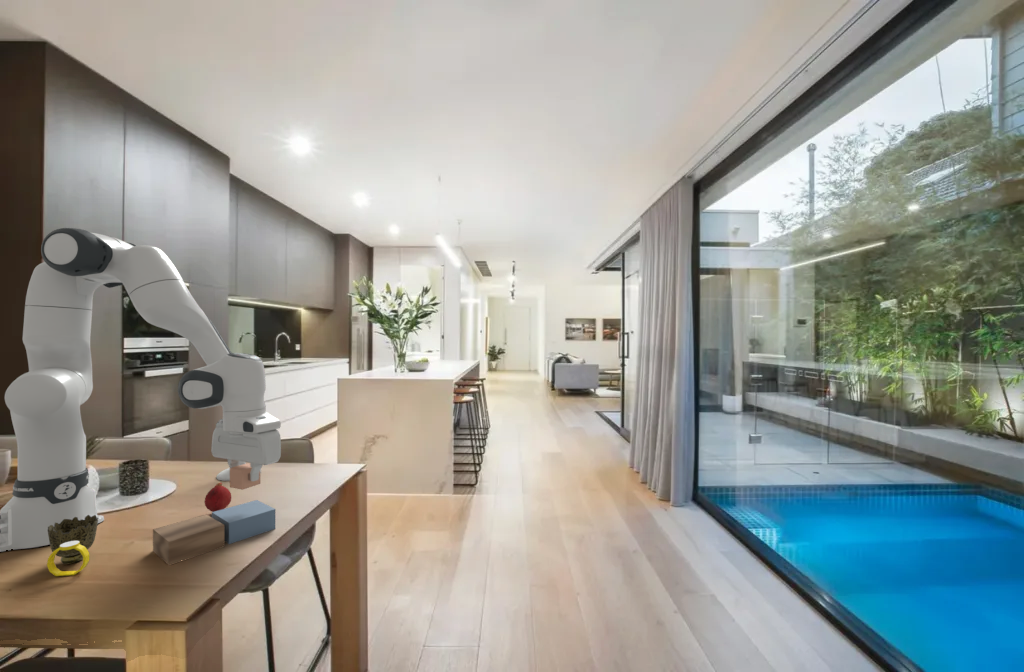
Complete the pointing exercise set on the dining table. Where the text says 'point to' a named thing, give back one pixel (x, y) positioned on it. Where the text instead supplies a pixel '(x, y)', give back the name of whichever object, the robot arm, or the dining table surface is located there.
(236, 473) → the terracotta cube
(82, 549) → the watch
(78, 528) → the cup
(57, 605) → the dining table surface
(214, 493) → the onion
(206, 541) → the walnut block
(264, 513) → the slate-blue block
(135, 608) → the dining table surface
